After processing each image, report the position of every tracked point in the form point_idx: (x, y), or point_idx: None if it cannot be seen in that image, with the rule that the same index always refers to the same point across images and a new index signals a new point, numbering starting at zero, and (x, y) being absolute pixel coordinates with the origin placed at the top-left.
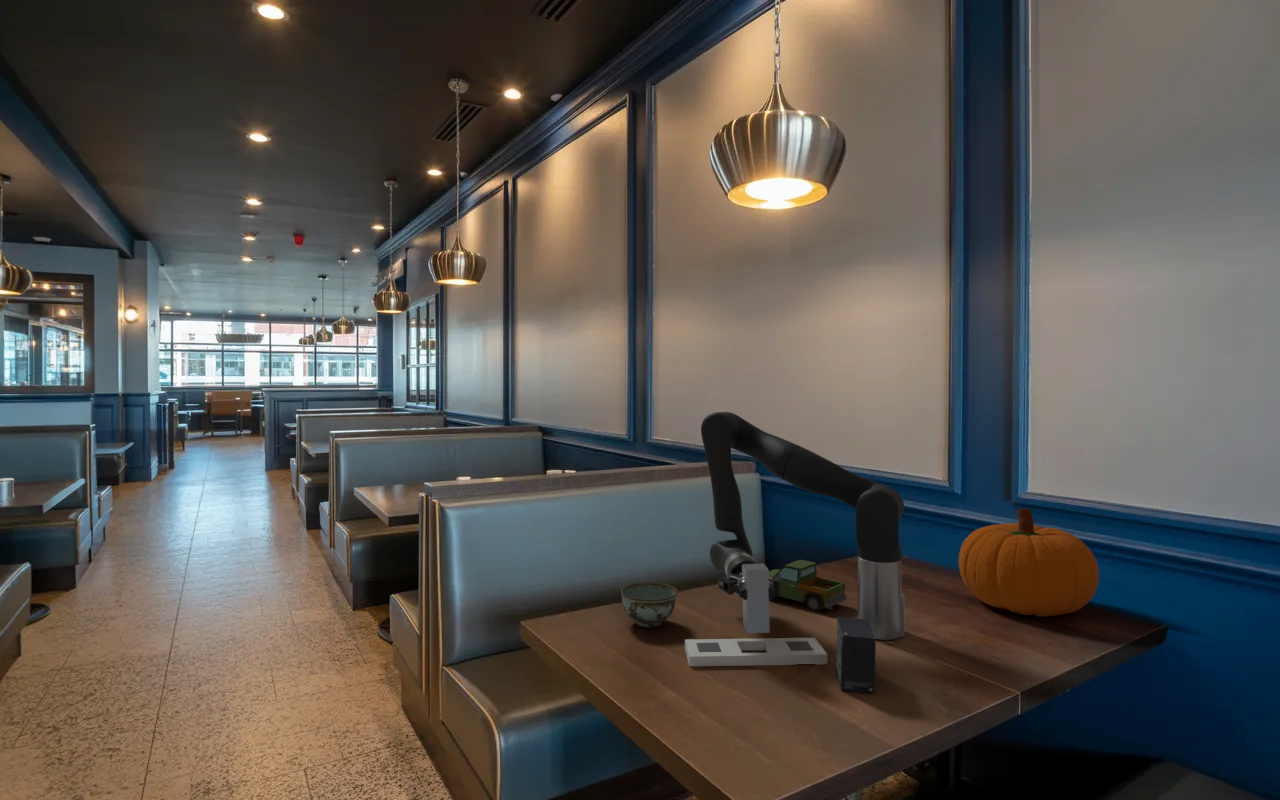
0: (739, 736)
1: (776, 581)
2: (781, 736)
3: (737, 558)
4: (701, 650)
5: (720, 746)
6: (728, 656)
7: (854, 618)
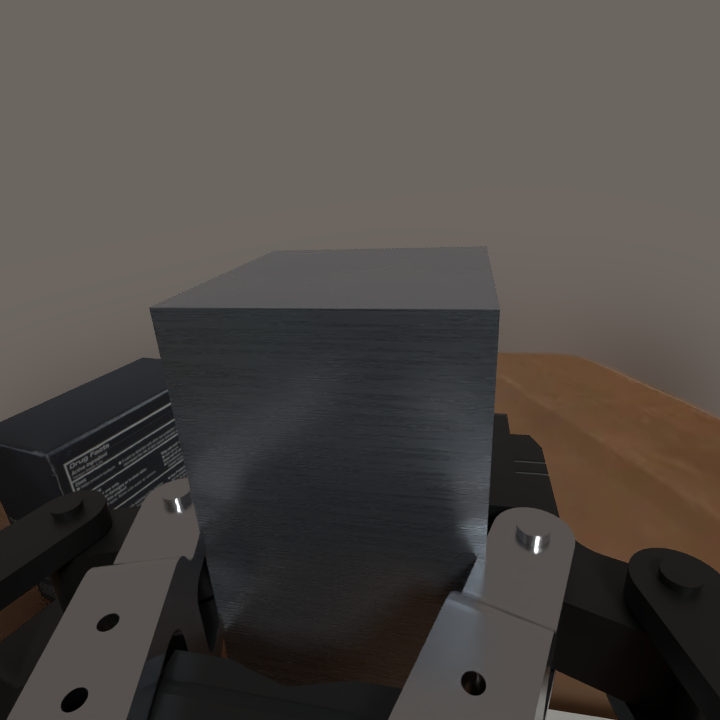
0: (547, 411)
1: (84, 498)
2: None
3: None
4: None
5: (583, 397)
6: (587, 716)
7: (6, 440)
